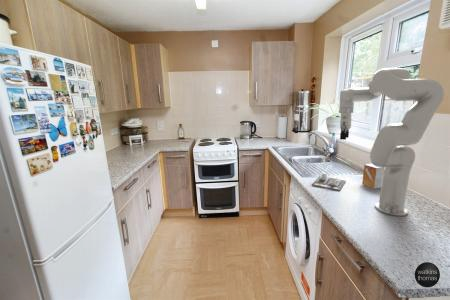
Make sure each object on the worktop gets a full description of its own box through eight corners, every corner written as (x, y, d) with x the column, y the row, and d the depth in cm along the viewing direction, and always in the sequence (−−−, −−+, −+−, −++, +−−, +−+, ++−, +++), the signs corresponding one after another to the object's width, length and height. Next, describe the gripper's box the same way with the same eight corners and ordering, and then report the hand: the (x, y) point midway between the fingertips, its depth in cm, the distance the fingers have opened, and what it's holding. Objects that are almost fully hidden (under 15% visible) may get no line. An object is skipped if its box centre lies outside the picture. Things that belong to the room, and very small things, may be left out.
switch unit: (339, 191, 126) (340, 187, 125) (311, 185, 135) (311, 182, 135) (345, 182, 139) (345, 178, 139) (319, 177, 149) (319, 174, 149)
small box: (361, 184, 135) (364, 164, 132) (369, 182, 137) (371, 163, 134) (374, 188, 128) (376, 167, 125) (382, 187, 129) (384, 166, 127)
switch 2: (335, 186, 130) (336, 179, 129) (329, 185, 132) (330, 178, 131) (336, 185, 132) (337, 177, 131) (331, 184, 134) (331, 176, 133)
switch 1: (325, 181, 138) (326, 174, 137) (320, 180, 140) (321, 173, 139) (327, 180, 141) (327, 172, 140) (321, 179, 143) (322, 172, 142)
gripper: (351, 110, 121) (349, 140, 125) (355, 110, 135) (353, 137, 138) (336, 111, 126) (334, 139, 129) (341, 110, 139) (340, 136, 143)
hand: (344, 138), depth 134 cm, fingers open, 9 cm apart
